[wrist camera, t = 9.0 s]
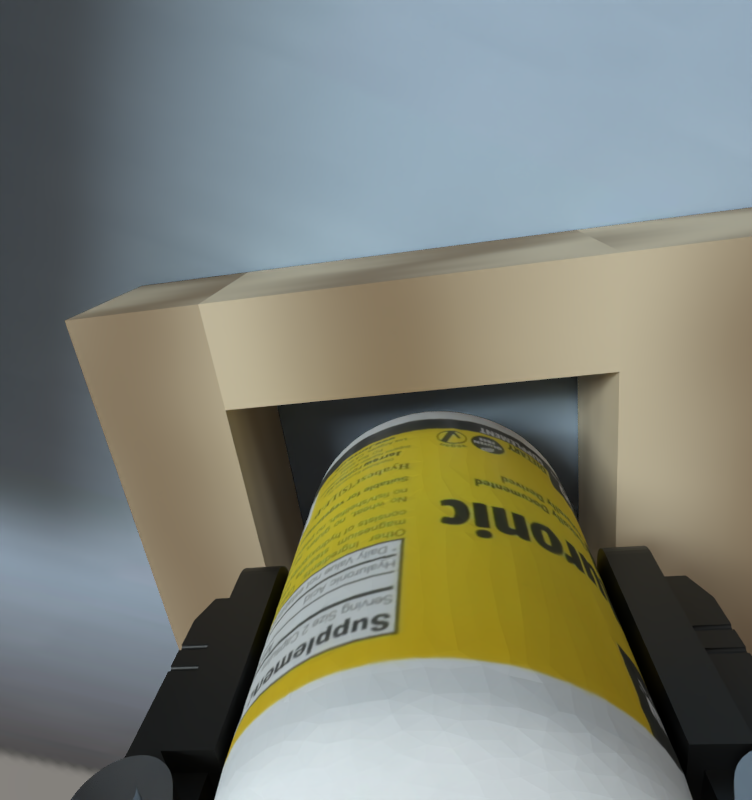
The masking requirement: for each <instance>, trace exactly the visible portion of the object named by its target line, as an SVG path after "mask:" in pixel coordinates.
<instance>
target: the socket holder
mask: <svg viewBox="0 0 752 800" xmlns="http://www.w3.org/2000/svg"><path fill="white" fill-rule="evenodd" d="M65 323H66V326H67V329H68V332H69V335H70V338H71V341H72V343H73V346H74V349H75V352H76V355H77V358H78V361H79V364H80V366H81V369H82V372H83V375H84V378H85V381H86V384H87V386H88V389H89V392H90V395H91V398H92V401H93V404H94V407H95V409H96V412H97V415H98V418H99V421H100V424H101V427H102V429H103V432H104V435H105V438H106V441H107V444H108V447H109V450H110V452H111V455H112V458H113V461H114V464H115V467H116V470H117V472H118V475H119V478H120V481H121V484H122V487H123V490H124V493H125V495H126V498H127V501H128V504H129V507H130V510H131V513H132V515H133V518H134V521H135V524H136V527H137V530H138V533H139V536H140V538H141V541H142V544H143V547H144V550H145V553H146V556H147V558H148V561H149V564H150V567H151V570H152V573H153V576H154V579H155V581H156V584H157V587H158V590H159V593H160V596H161V599H162V601H163V604H164V607H165V610H166V613H167V616H168V619H169V622H170V624H171V627H172V630H173V633H174V636H175V639H176V642H177V644H178V647H179V650H181V649H182V643H183V641H184V639H185V637H186V635H187V633H188V631H189V629H190V628H191V626H192V624H193V622H194V620H195V619H196V618H197V617H198V616H199V615H200V614H201V613H202V612H203V611H204V610H205V609H206V608H207V607H208V606H209V605H210V604H211V603H212V602H213V601H214V600H215V599H219V598H230V595H231V593H232V591H233V589H234V586H235V584H236V582H237V580H238V578H239V575H240V573H241V572H242V570H243V569H245V568H255V567H272V566H285V567H286V568H287V569H288V571H289V572H290V569H291V566H292V563H293V560H294V557H295V554H296V551H297V548H298V545H299V542H300V539H301V536H302V532H303V530H304V526H303V521H302V517H301V512H300V508H299V503H298V498H297V494H296V489H295V485H294V480H293V476H292V471H291V467H290V462H289V457H288V453H287V448H286V444H285V439H284V435H283V430H282V426H281V421H280V416H279V412H278V407H277V405H285V404H295V403H305V402H316V401H326V400H336V399H346V398H357V397H367V396H377V395H387V394H398V393H408V392H418V391H428V390H439V389H449V388H459V387H470V386H480V385H490V384H500V383H511V382H521V381H531V380H541V379H552V378H562V377H572V376H578V486H579V525H580V528H581V531H582V533H583V535H584V537H585V540H586V543H587V545H588V548H589V550H590V553H591V555H592V556H593V559H594V561H595V564H596V567H597V554H598V550H599V549H600V548H611V547H629V546H646V547H648V549H649V550H650V551H651V553H652V555H653V557H654V558H655V560H656V562H657V564H658V566H659V567H660V569H661V571H662V573H663V575H664V576H683V575H686V576H687V577H689V578H690V579H691V580H692V581H694V582H695V583H696V584H698V585H699V586H700V587H701V588H703V589H704V590H705V591H707V592H708V593H709V594H710V595H712V596H713V597H714V598H715V600H716V601H717V603H718V604H719V606H720V607H721V609H722V610H723V612H724V614H725V615H726V617H727V618H728V620H729V621H730V623H731V627H732V629H735V631H736V632H737V634H738V635H739V637H740V638H741V640H742V642H743V643H744V645H745V646H746V651H747V653H750V654H751V656H752V208H744V209H736V210H728V211H720V212H713V213H705V214H697V215H689V216H682V217H674V218H666V219H658V220H650V221H643V222H635V223H627V224H619V225H612V226H604V227H596V228H588V229H580V230H573V231H565V232H557V233H549V234H542V235H534V236H526V237H518V238H510V239H503V240H495V241H487V242H479V243H472V244H464V245H456V246H448V247H441V248H433V249H425V250H417V251H409V252H402V253H394V254H386V255H378V256H371V257H363V258H355V259H347V260H339V261H332V262H324V263H316V264H308V265H301V266H293V267H285V268H277V269H269V270H262V271H254V272H246V273H238V274H231V275H223V276H215V277H207V278H199V279H192V280H184V281H176V282H168V283H161V284H153V285H145V286H140V287H138V288H136V289H134V290H131V291H129V292H127V293H125V294H123V295H120V296H118V297H116V298H114V299H111V300H109V301H107V302H105V303H103V304H100V305H98V306H96V307H94V308H92V309H89V310H87V311H85V312H83V313H81V314H78V315H76V316H74V317H72V318H70V319H67V320H65Z"/></svg>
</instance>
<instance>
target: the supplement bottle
mask: <svg viewBox="0 0 752 800" xmlns="http://www.w3.org/2000/svg"><path fill="white" fill-rule="evenodd" d="M214 800H693V799H692V796H691V793H690V791H689V788H688V785H687V782H686V778H685V775H684V772H683V770H682V768H681V766H680V763H679V760H678V757H677V755H676V753H675V751H674V749H673V747H672V745H671V743H670V740H669V738H668V736H667V734H666V732H665V729H664V727H663V724H662V721H661V719H660V717H659V714H658V712H657V710H656V708H655V706H654V703H653V701H652V698H651V696H650V694H649V692H648V690H647V687H646V685H645V682H644V680H643V677H642V675H641V673H640V670H639V668H638V666H637V663H636V661H635V659H634V656H633V654H632V651H631V649H630V646H629V644H628V642H627V639H626V637H625V634H624V632H623V630H622V627H621V625H620V623H619V620H618V618H617V615H616V613H615V611H614V608H613V606H612V604H611V601H610V599H609V596H608V594H607V591H606V589H605V586H604V584H603V581H602V579H601V577H600V574H599V572H598V569H597V567H596V564H595V561H594V559H593V556H592V555H591V553H590V550H589V548H588V545H587V543H586V540H585V537H584V535H583V533H582V531H581V528H580V525H579V522H578V519H577V516H576V514H575V512H574V510H573V507H572V505H571V503H570V501H569V499H568V497H567V495H566V493H565V490H564V488H563V486H562V484H561V482H560V481H559V479H558V477H557V475H556V473H555V472H554V470H553V469H552V467H551V466H550V464H549V463H548V462H547V460H546V459H545V458H544V457H543V456H542V455H541V454H540V453H539V451H538V450H536V449H535V448H534V447H533V446H532V445H531V444H530V443H529V442H527V441H526V440H525V439H524V438H522V437H521V436H519V435H518V434H516V433H515V432H513V431H512V430H510V429H508V428H506V427H504V426H502V425H500V424H498V423H495V422H493V421H490V420H487V419H485V418H481V417H478V416H474V415H470V414H464V413H459V412H450V411H431V412H422V413H415V414H410V415H406V416H402V417H398V418H395V419H393V420H390V421H387V422H385V423H383V424H381V425H378V426H376V427H374V428H372V429H371V430H369V431H367V432H365V433H364V434H362V435H361V436H360V437H358V438H357V439H355V440H354V441H353V442H352V443H351V444H350V445H349V446H348V447H347V448H345V449H344V450H343V451H342V452H341V454H340V455H339V456H338V457H337V458H336V459H335V460H334V462H333V463H332V465H331V466H330V468H329V469H328V471H327V472H326V474H325V476H324V478H323V480H322V482H321V484H320V486H319V488H318V490H317V492H316V494H315V498H314V501H313V505H312V507H311V510H310V513H309V516H308V519H307V521H306V524H305V527H304V530H303V532H302V536H301V539H300V542H299V545H298V548H297V551H296V554H295V557H294V560H293V563H292V566H291V569H290V572H289V575H288V578H287V581H286V584H285V586H284V589H283V593H282V596H281V599H280V602H279V604H278V607H277V611H276V614H275V617H274V620H273V623H272V625H271V628H270V631H269V634H268V637H267V640H266V643H265V647H264V649H263V652H262V655H261V657H260V661H259V664H258V667H257V670H256V673H255V676H254V679H253V682H252V685H251V688H250V691H249V694H248V697H247V700H246V703H245V706H244V709H243V712H242V715H241V718H240V720H239V723H238V726H237V729H236V732H235V734H234V737H233V740H232V743H231V746H230V749H229V752H228V755H227V758H226V761H225V764H224V767H223V770H222V774H221V777H220V781H219V785H218V788H217V792H216V795H215V799H214Z"/></svg>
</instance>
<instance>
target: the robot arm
mask: <svg viewBox="0 0 752 800" xmlns="http://www.w3.org/2000/svg"><path fill="white" fill-rule="evenodd" d="M597 569H598V572H599V574H600V577H601V579H602V581H603V584H604V586H605V589H606V591H607V594H608V596H609V599H610V601H611V604H612V606H613V608H614V611H615V613H616V615H617V618H618V620H619V623H620V625H621V627H622V630H623V632H624V634H625V637H626V639H627V642H628V644H629V646H630V649H631V651H632V654H633V656H634V659H635V661H636V663H637V666H638V668H639V670H640V673H641V675H642V677H643V680H644V682H645V685H646V687H647V690H648V692H649V694H650V696H651V698H652V701H653V703H654V706H655V708H656V710H657V712H658V714H659V717H660V719H661V721H662V724H663V727H664V729H665V732H666V734H667V736H668V738H669V740H670V743H671V745H672V747H673V749H674V751H675V753H676V755H677V757H678V760H679V763H680V766H681V768H682V770H683V772H684V775H685V778H686V782H687V785H688V788H689V791H690V793H691V796H692V799H693V800H752V656H751V654H750V653H747V651H746V646H745V645H744V643H743V642H742V640H741V638H740V637H739V635H738V634H737V632H736V631H735V629H732V627H731V623H730V621H729V620H728V618H727V617H726V615H725V614H724V612H723V610H722V609H721V607H720V606H719V604H718V603H717V601H716V600H715V598H714V597H713V596H712V595H710V594H709V593H708V592H707V591H705V590H704V589H703V588H701V587H700V586H699V585H698V584H696V583H695V582H694V581H692V580H691V579H690V578H689V577H687V576H686V575H683V576H664V575H663V573H662V571H661V569H660V567H659V566H658V564H657V562H656V560H655V558H654V557H653V555H652V553H651V551H650V550H649V549H648V547H646V546H629V547H611V548H600V549H599V550H598V554H597ZM288 575H289V571H288V569H287V568H286V567H285V566H272V567H255V568H245V569H243V570H242V572H241V573H240V575H239V578H238V580H237V582H236V584H235V586H234V589H233V591H232V593H231V595H230V598H219V599H215V600H214V601H213V602H212V603H211V604H210V605H209V606H208V607H207V608H206V609H205V610H204V611H203V612H202V613H201V614H200V615H199V616H198V617H197V618H196V619H195V620H194V622H193V624H192V626H191V628H190V629H189V631H188V633H187V635H186V637H185V639H184V641H183V643H182V649H181V650H179V651H178V653H177V655H176V657H175V659H174V661H173V663H172V665H171V671H170V672H168V673H167V675H166V677H165V679H164V681H163V683H162V685H161V687H160V689H159V691H158V693H157V695H156V697H155V699H154V701H153V703H152V705H151V707H150V709H149V711H148V713H147V715H146V717H145V719H144V721H143V723H142V725H141V727H140V729H139V731H138V733H137V735H136V737H135V739H134V741H133V743H132V744H131V746H130V748H129V750H128V752H127V754H126V756H125V758H123V759H120V760H118V761H116V762H114V763H111V764H110V765H108V766H106V767H104V768H103V769H101V770H100V771H99V772H97V773H96V774H94V775H93V776H92V777H91V778H90V779H89V780H87V781H86V782H85V783H84V784H83V785H82V786H81V788H80V789H79V790H78V791H77V792H76V793H75V795H74V796H73V797H72V799H71V800H214V799H215V795H216V792H217V788H218V785H219V781H220V777H221V774H222V770H223V767H224V764H225V761H226V758H227V755H228V752H229V749H230V746H231V743H232V740H233V737H234V734H235V732H236V729H237V726H238V723H239V720H240V718H241V715H242V712H243V709H244V706H245V703H246V700H247V697H248V694H249V691H250V688H251V685H252V682H253V679H254V676H255V673H256V670H257V667H258V664H259V661H260V657H261V655H262V652H263V649H264V647H265V643H266V640H267V637H268V634H269V631H270V628H271V625H272V623H273V620H274V617H275V614H276V611H277V607H278V604H279V602H280V599H281V596H282V593H283V589H284V586H285V584H286V581H287V578H288Z"/></svg>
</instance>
